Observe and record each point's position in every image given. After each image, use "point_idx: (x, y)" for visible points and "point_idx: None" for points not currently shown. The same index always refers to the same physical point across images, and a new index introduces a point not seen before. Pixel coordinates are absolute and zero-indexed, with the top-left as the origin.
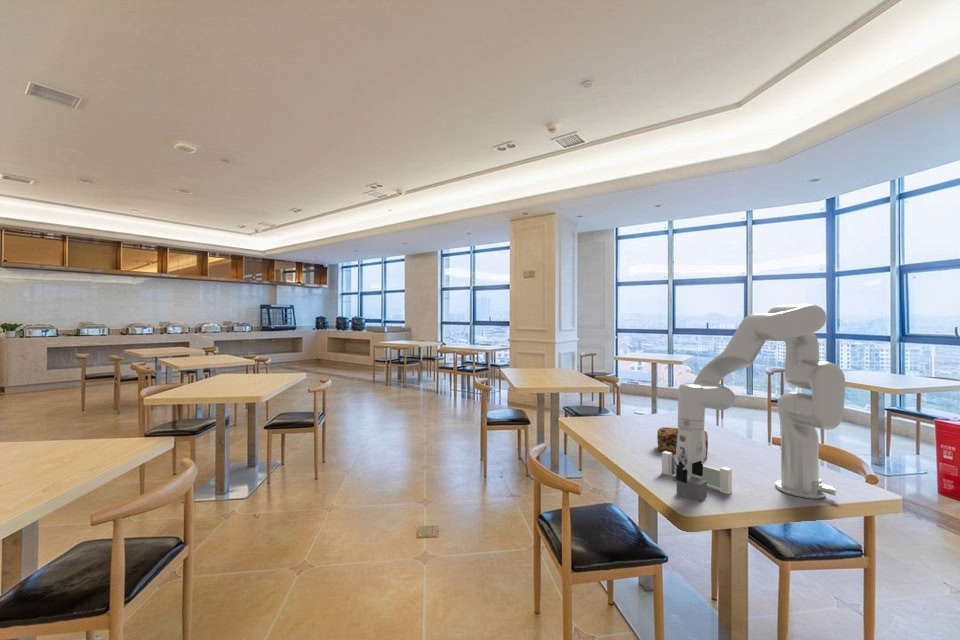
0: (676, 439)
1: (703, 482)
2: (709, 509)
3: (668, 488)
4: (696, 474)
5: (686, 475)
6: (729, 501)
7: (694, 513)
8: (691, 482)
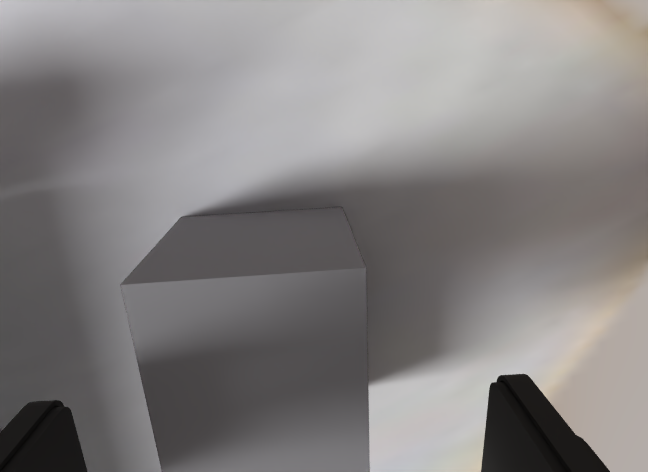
0: None
1: (219, 285)
2: (451, 51)
3: None
4: (82, 462)
5: (591, 456)
6: (70, 18)
7: (642, 94)
8: (365, 365)
